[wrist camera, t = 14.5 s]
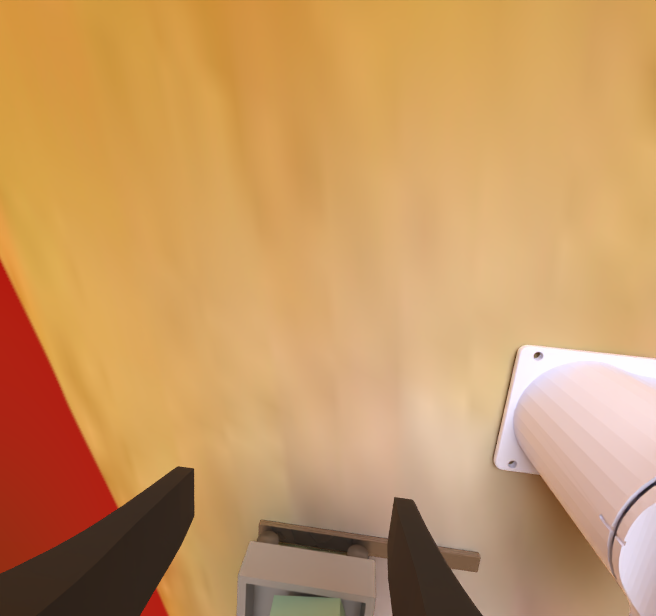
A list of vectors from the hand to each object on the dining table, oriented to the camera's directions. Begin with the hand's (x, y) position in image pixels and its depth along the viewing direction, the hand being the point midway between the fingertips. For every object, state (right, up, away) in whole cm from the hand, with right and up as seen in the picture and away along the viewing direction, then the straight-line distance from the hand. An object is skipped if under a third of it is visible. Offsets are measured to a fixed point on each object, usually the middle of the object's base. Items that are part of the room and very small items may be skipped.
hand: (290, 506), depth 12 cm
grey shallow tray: (0, -13, +13) cm, 19 cm away
